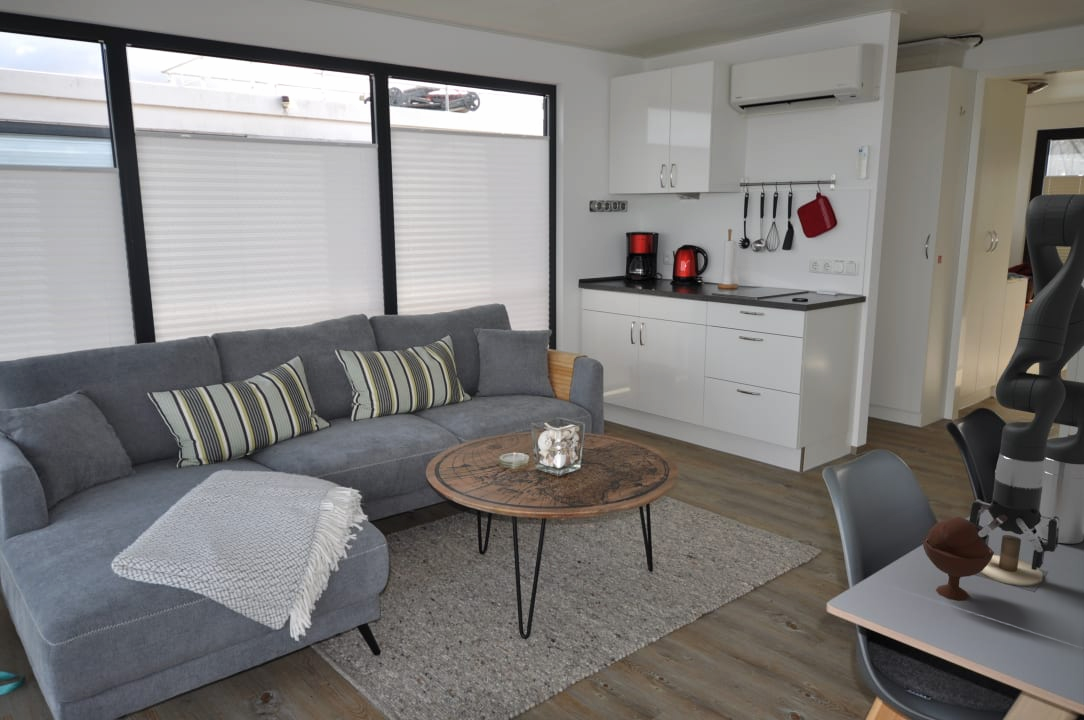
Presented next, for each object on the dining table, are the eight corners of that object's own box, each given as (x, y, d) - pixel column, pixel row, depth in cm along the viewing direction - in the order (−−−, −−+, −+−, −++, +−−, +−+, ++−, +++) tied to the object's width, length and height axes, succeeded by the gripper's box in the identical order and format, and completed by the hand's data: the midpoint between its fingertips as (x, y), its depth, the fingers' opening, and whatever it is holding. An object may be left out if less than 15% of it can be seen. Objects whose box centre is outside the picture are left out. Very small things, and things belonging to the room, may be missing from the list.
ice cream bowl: (1002, 607, 133) (1012, 526, 130) (944, 612, 131) (953, 530, 128) (959, 578, 143) (968, 503, 140) (905, 583, 141) (912, 506, 138)
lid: (983, 553, 152) (987, 521, 151) (1048, 571, 145) (1052, 537, 143) (966, 572, 144) (970, 538, 143) (1034, 592, 137) (1038, 556, 136)
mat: (983, 555, 152) (983, 553, 152) (1047, 573, 145) (1048, 571, 145) (966, 574, 145) (966, 572, 144) (1034, 594, 137) (1034, 592, 137)
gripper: (1068, 483, 139) (1057, 567, 142) (981, 466, 148) (972, 544, 152) (1060, 494, 133) (1048, 580, 137) (970, 475, 143) (961, 556, 146)
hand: (1008, 561), depth 144 cm, fingers open, 8 cm apart
